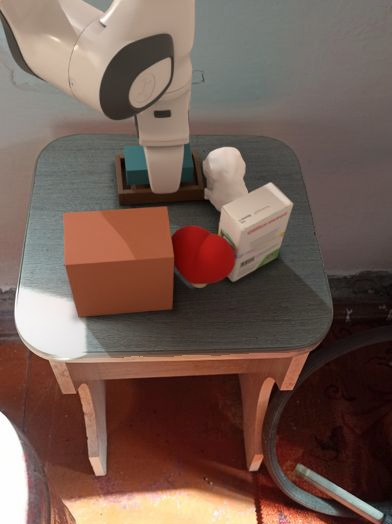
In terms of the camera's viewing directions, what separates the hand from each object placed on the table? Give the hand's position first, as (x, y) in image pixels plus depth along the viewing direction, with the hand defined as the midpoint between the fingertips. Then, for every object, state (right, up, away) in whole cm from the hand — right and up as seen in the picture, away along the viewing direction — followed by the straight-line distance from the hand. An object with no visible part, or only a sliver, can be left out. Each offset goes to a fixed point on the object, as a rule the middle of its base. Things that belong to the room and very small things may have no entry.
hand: (158, 168), depth 86 cm
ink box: (+13, -14, -3) cm, 20 cm away
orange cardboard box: (-4, -19, -7) cm, 21 cm away
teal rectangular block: (0, 0, +1) cm, 1 cm away
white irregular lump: (+11, -6, +1) cm, 12 cm away
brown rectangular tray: (0, -1, +3) cm, 3 cm away
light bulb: (+6, -18, -6) cm, 20 cm away
